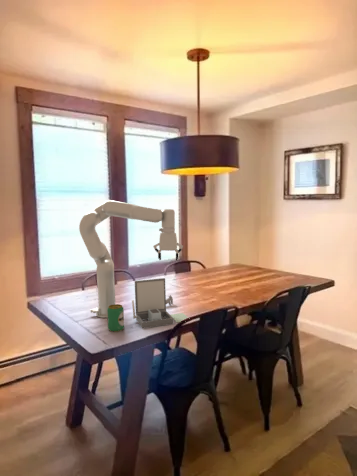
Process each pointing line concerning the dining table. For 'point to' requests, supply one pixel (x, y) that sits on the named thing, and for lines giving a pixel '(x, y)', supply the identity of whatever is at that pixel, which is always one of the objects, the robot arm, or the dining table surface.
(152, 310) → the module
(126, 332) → the dining table surface
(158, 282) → the equipment case
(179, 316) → the mat
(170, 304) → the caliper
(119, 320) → the beverage can
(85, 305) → the dining table surface
